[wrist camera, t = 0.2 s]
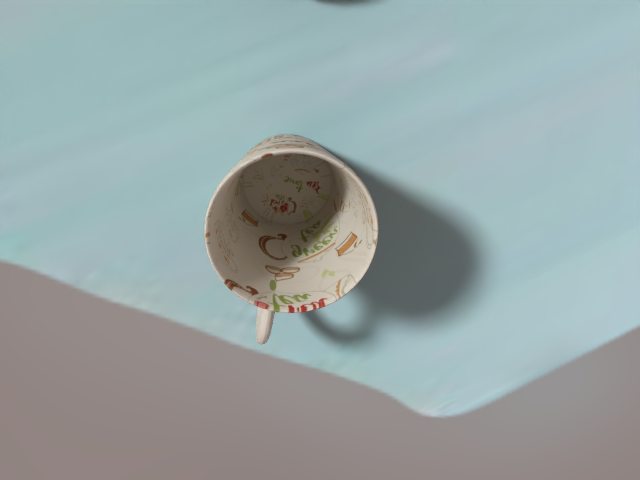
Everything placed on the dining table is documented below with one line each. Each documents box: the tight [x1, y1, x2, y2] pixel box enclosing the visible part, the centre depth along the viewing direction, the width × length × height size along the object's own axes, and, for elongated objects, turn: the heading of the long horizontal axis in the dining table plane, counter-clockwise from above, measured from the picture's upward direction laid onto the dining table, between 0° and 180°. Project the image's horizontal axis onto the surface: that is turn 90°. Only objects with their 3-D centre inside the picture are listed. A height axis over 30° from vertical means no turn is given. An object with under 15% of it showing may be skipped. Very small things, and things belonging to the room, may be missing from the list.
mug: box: [204, 134, 379, 344], centre depth 34 cm, size 8×13×10 cm, turn 170°
